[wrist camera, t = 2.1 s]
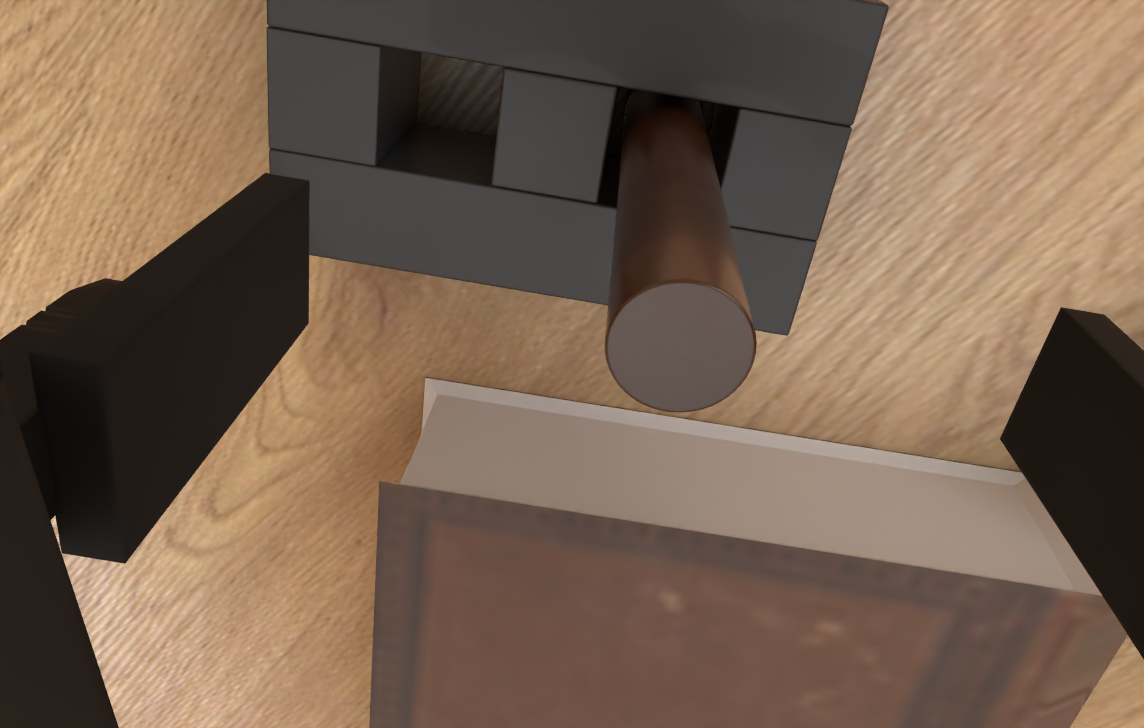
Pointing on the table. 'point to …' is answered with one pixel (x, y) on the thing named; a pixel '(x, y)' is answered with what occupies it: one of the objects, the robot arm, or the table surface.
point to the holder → (561, 130)
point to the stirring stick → (674, 265)
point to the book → (714, 580)
